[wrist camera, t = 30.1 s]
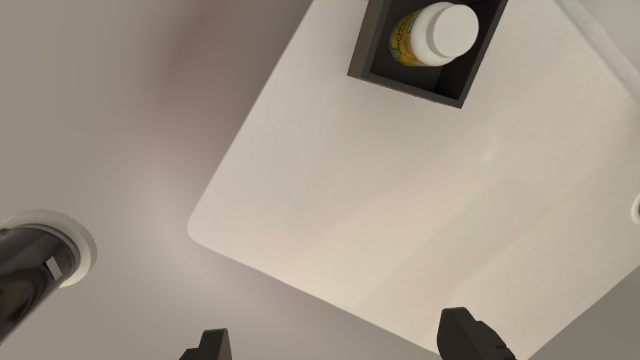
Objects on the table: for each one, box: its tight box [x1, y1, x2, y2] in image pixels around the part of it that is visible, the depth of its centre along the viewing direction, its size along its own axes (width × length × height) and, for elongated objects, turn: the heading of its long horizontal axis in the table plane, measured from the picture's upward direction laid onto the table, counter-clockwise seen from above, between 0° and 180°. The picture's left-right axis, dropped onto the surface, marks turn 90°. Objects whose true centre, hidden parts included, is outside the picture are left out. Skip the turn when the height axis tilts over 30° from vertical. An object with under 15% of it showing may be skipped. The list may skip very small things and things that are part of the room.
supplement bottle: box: [389, 2, 478, 66], centre depth 29 cm, size 5×5×10 cm
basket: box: [347, 0, 508, 109], centre depth 31 cm, size 11×11×6 cm
